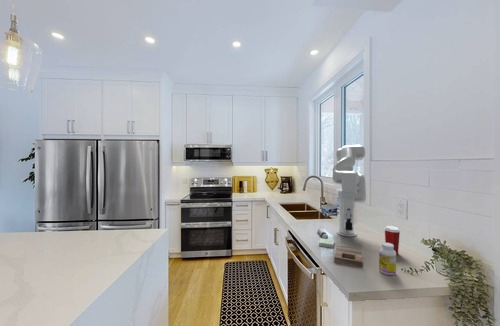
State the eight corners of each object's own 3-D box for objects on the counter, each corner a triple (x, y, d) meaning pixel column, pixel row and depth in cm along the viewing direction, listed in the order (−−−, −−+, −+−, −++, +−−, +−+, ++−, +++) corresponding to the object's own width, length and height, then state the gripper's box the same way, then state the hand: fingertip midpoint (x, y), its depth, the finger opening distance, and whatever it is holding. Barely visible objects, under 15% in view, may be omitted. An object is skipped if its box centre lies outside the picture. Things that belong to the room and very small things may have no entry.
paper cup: (397, 251, 125) (398, 226, 125) (402, 256, 118) (402, 230, 118) (382, 249, 128) (382, 225, 128) (385, 254, 121) (385, 229, 121)
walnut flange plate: (336, 250, 126) (336, 245, 126) (362, 254, 121) (362, 249, 121) (334, 262, 112) (334, 256, 112) (362, 267, 106) (362, 261, 106)
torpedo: (329, 240, 143) (329, 230, 143) (322, 240, 143) (322, 230, 143) (322, 231, 161) (322, 222, 161) (315, 231, 161) (315, 222, 161)
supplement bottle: (375, 268, 105) (376, 241, 105) (389, 268, 105) (389, 241, 105) (385, 276, 98) (385, 247, 98) (399, 275, 99) (399, 246, 99)
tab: (321, 241, 140) (321, 238, 140) (334, 243, 137) (334, 240, 137) (319, 245, 133) (319, 242, 133) (333, 248, 130) (333, 244, 130)
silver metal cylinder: (344, 227, 122) (344, 218, 122) (353, 228, 120) (353, 219, 120) (344, 229, 118) (344, 220, 118) (353, 230, 116) (353, 221, 116)
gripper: (342, 192, 128) (342, 223, 128) (340, 196, 113) (340, 232, 113) (356, 193, 125) (356, 225, 125) (356, 197, 110) (356, 234, 110)
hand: (348, 228), depth 119 cm, fingers closed on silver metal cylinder, 4 cm apart
